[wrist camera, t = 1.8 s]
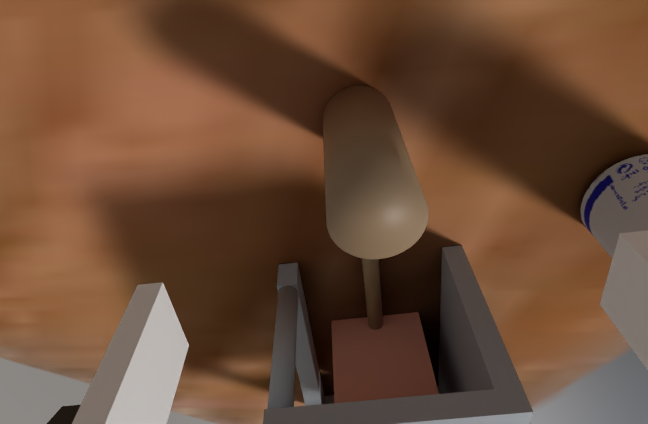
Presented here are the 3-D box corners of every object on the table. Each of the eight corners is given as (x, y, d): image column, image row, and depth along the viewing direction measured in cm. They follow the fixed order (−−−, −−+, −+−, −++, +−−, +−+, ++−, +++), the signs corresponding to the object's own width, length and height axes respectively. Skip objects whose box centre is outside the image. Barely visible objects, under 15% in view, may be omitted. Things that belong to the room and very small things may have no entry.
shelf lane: (278, 264, 29) (261, 435, 20) (461, 245, 28) (533, 411, 19) (311, 406, 37) (310, 573, 28) (453, 393, 37) (500, 559, 28)
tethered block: (294, 93, 23) (284, 185, 15) (415, 77, 23) (465, 165, 15) (340, 374, 35) (346, 501, 28) (418, 367, 35) (447, 494, 28)
